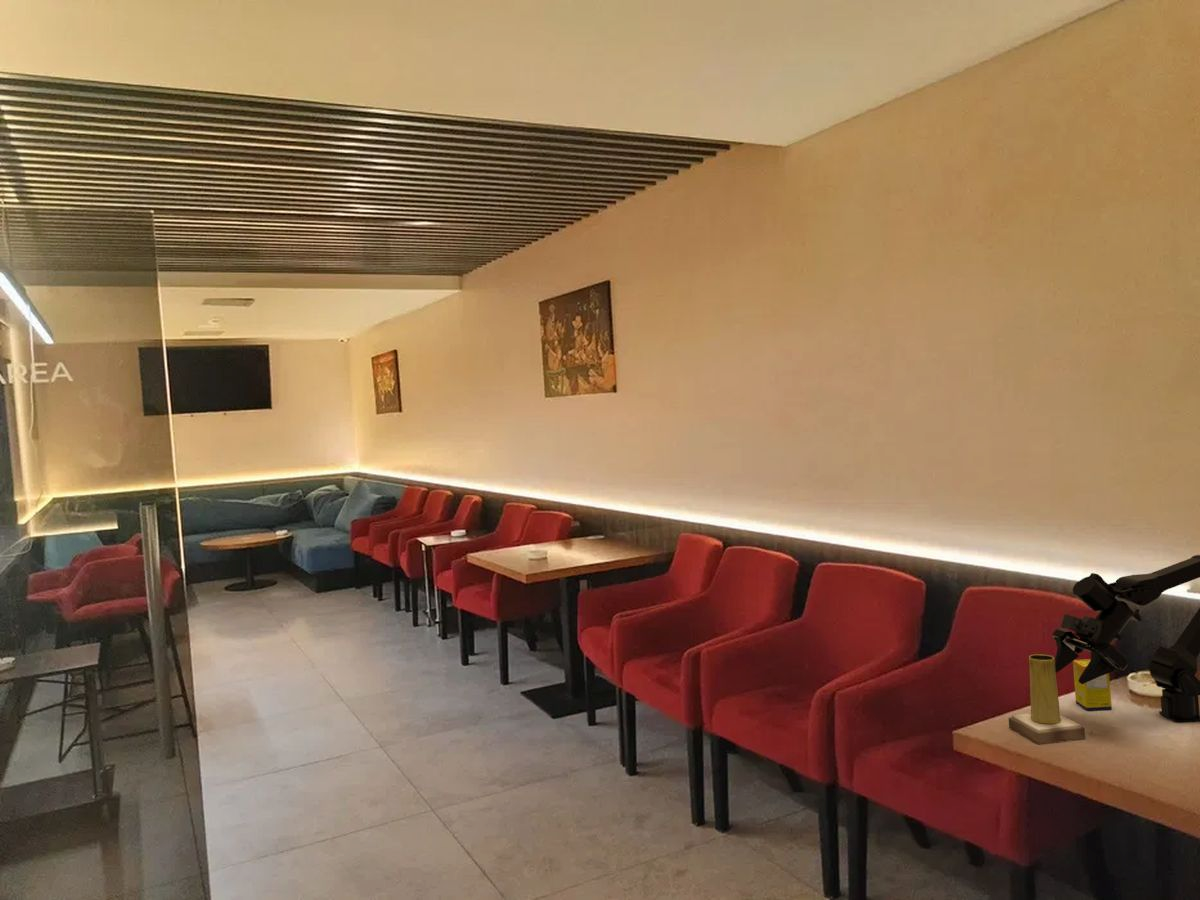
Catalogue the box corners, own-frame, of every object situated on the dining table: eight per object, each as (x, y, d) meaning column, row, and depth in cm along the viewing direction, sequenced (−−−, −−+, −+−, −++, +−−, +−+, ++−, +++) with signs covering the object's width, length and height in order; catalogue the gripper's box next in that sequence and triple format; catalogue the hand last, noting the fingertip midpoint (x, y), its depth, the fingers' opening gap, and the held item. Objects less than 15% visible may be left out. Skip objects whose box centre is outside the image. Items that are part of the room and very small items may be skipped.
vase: (1041, 725, 188) (1037, 661, 188) (1024, 717, 194) (1020, 655, 194) (1067, 722, 189) (1062, 659, 189) (1049, 714, 195) (1045, 652, 195)
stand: (1053, 722, 198) (1052, 710, 198) (1085, 738, 187) (1084, 725, 187) (1009, 727, 197) (1008, 715, 196) (1038, 744, 186) (1037, 730, 186)
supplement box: (1100, 702, 209) (1097, 658, 209) (1112, 710, 203) (1109, 664, 203) (1074, 703, 210) (1071, 659, 209) (1086, 711, 204) (1083, 666, 203)
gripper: (1056, 594, 202) (1016, 645, 201) (1111, 609, 183) (1067, 665, 182) (1089, 623, 203) (1050, 674, 202) (1148, 641, 184) (1104, 697, 183)
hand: (1066, 677), depth 192 cm, fingers open, 9 cm apart
